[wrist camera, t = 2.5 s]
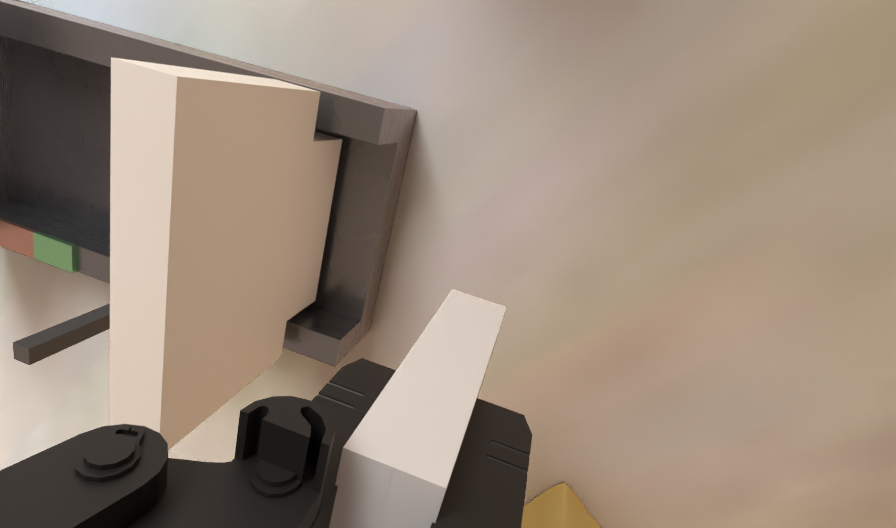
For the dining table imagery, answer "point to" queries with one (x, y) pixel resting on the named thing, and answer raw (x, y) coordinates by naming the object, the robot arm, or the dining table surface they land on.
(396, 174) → the gauge track
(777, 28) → the dining table surface
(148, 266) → the cream stepped block
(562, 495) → the cheese
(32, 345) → the indicator
